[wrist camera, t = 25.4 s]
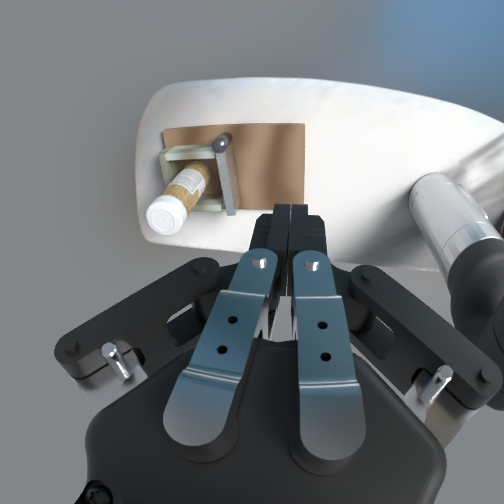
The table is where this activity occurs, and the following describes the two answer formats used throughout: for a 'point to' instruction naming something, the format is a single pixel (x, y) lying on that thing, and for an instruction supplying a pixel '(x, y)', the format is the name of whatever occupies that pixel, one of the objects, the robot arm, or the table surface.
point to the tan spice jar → (178, 199)
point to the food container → (502, 231)
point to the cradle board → (242, 162)
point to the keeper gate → (227, 172)
